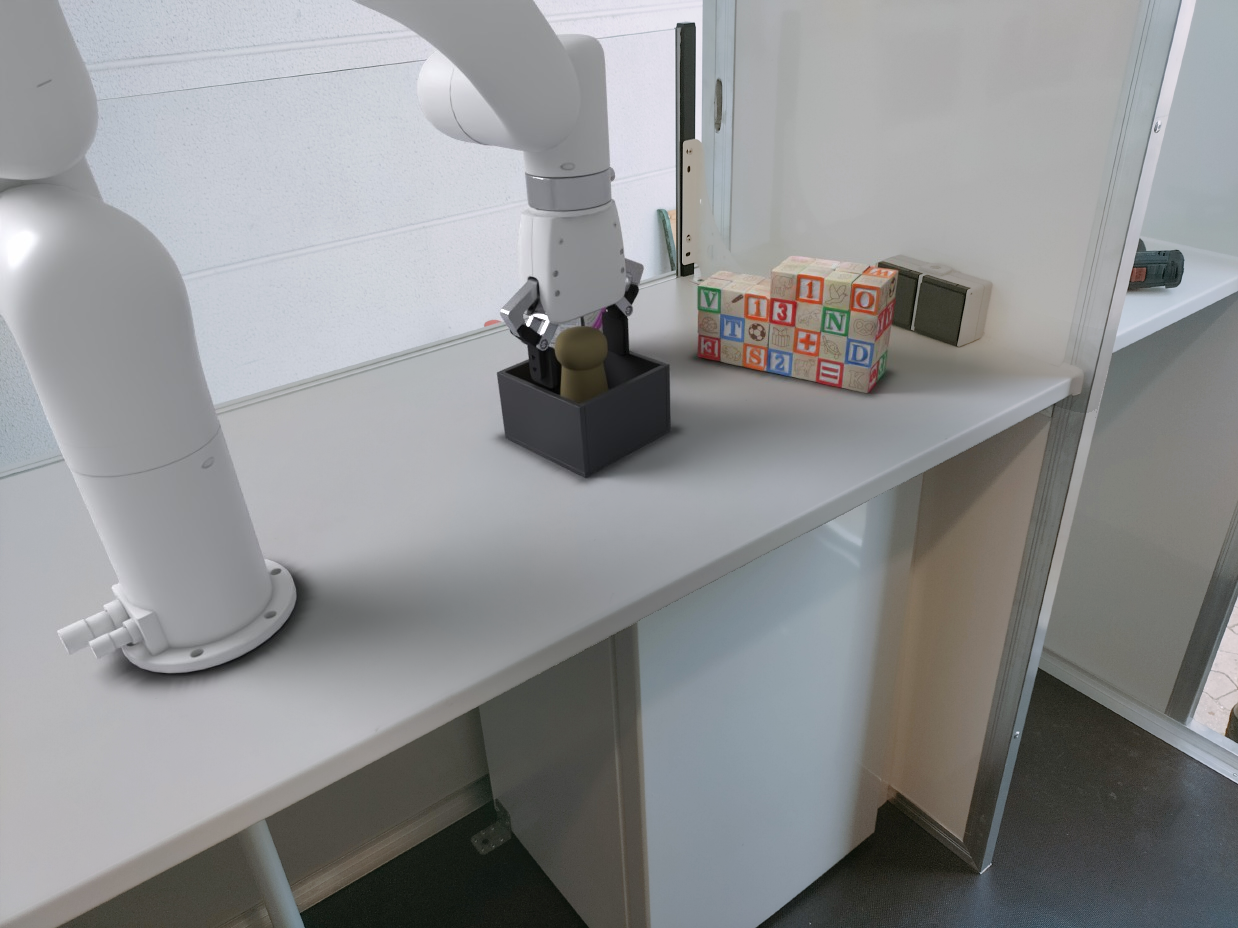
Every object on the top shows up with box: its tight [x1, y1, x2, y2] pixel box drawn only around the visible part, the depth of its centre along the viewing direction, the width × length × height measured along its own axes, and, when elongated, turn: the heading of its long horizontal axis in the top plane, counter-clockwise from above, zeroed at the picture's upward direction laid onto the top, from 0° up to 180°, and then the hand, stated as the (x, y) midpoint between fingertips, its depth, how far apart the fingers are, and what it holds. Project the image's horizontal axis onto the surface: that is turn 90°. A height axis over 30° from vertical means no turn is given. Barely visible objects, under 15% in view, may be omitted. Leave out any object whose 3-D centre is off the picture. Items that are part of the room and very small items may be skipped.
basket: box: [496, 348, 672, 479], centre depth 86 cm, size 12×12×8 cm
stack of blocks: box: [696, 255, 899, 394], centre depth 97 cm, size 21×6×12 cm, turn 58°
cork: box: [555, 326, 609, 404], centre depth 85 cm, size 6×6×11 cm
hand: (581, 367), depth 84 cm, fingers open, 9 cm apart
